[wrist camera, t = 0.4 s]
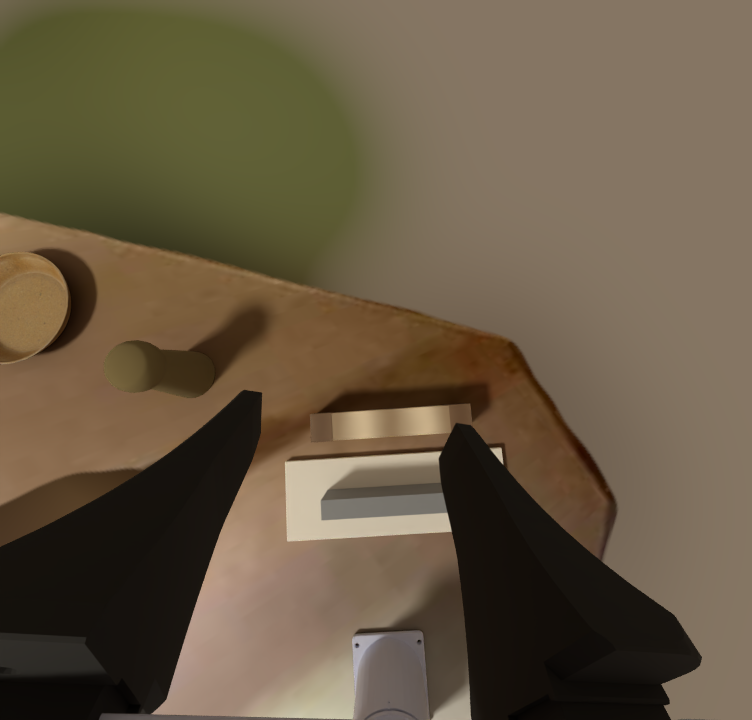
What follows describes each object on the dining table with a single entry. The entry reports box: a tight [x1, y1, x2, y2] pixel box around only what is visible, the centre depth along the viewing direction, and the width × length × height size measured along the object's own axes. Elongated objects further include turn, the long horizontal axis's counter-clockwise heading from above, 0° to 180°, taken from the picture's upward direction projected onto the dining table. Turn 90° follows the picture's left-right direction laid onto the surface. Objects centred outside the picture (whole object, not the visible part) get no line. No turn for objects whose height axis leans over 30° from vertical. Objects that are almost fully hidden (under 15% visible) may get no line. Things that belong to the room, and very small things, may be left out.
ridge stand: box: [285, 447, 503, 541], centre depth 36 cm, size 9×26×5 cm, turn 94°
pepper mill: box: [104, 340, 215, 398], centre depth 35 cm, size 6×6×11 cm
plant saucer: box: [0, 252, 71, 364], centre depth 42 cm, size 15×15×3 cm
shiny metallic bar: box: [310, 403, 473, 442], centre depth 37 cm, size 18×3×4 cm, turn 94°
